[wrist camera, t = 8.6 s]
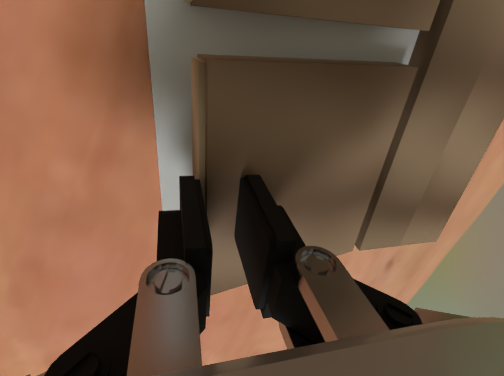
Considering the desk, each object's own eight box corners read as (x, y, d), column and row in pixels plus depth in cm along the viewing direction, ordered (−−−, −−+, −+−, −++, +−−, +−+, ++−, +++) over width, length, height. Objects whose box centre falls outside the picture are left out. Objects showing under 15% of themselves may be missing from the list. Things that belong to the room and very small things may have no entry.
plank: (190, 53, 9) (201, 59, 8) (395, 62, 13) (418, 66, 12) (194, 279, 14) (201, 298, 13) (339, 238, 18) (352, 250, 17)
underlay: (71, -871, 4) (65, -924, 4) (711, -365, 9) (727, -376, 8) (166, 260, 16) (166, 264, 16) (417, 232, 20) (420, 235, 20)
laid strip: (581, -445, 7) (648, -517, 6) (712, -346, 9) (782, -391, 8) (349, 237, 18) (359, 250, 17) (423, 229, 20) (436, 241, 19)
